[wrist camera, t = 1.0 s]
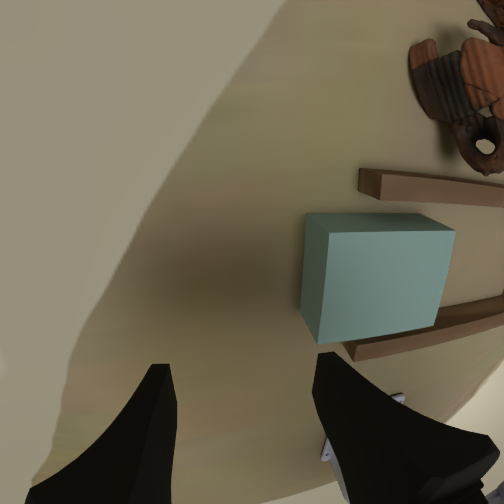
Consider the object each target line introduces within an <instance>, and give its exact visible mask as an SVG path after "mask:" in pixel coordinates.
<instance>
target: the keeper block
mask: <svg viewBox="0 0 504 504" xmlns="http://www.w3.org/2000/svg"><path fill="white" fill-rule="evenodd" d="M455 234H456V230H454V229H452V228H450V227H447V226H445V225H443V224H441V223H439V222H437V221H435V220H433V219H431V218H428V217H426V216H424V215H422V214H413V213H306V226H305V243H304V260H303V274H302V288H301V301H300V311H301V313H302V315H303V317H304V319H305V321H306V323H307V325H308V327H309V329H310V331H311V333H312V335H313V337H314V339H315V341H316V343H317V345H320V344H328V343H336V342H343V341H350V340H357V339H363V338H370V337H376V336H382V335H388V334H393V333H399V332H404V331H409V330H414V329H420V328H424V327H429V326H433V325H434V322H435V319H436V315H437V312H438V308H439V305H440V301H441V297H442V294H443V290H444V286H445V282H446V277H447V273H448V269H449V264H450V260H451V255H452V250H453V245H454V239H455Z"/></svg>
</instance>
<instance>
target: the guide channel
mask: <svg viewBox="0 0 504 504" xmlns="http://www.w3.org/2000/svg"><path fill="white" fill-rule="evenodd" d="M358 191H360V192H362V193H365V194H367V195H369V196H372V197H374V198H376V199H378V200H389V201H413V202H433V203H450V204H465V205H478V206H491V207H502V208H504V185H501V184H495V183H489V182H483V181H476V180H470V179H463V178H455V177H448V176H440V175H431V174H422V173H413V172H402V171H391V170H379V169H365V168H360V169H359V185H358ZM501 325H504V291H503V295H501V296H497V297H492V298H488V299H483V300H479V301H474V302H469V303H464V304H459V305H454V306H449V307H443V308H438V312H437V315H436V319H435V322H434V325H433V326H429V327H424V328H420V329H414V330H409V331H404V332H399V333H393V334H388V335H382V336H376V337H370V338H363V339H357V340H350V341H343V342H342V344H343V346H344V347H345V349H346V351H347V352H348V354H349V356H350V357H351V359H352V361H353V362H356V361H361V360H367V359H372V358H378V357H383V356H388V355H393V354H397V353H402V352H407V351H411V350H416V349H420V348H424V347H428V346H432V345H436V344H440V343H444V342H448V341H451V340H455V339H459V338H462V337H466V336H469V335H473V334H476V333H479V332H483V331H486V330H489V329H492V328H495V327H498V326H501Z"/></svg>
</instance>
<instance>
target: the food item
mask: <svg viewBox="0 0 504 504" xmlns="http://www.w3.org/2000/svg"><path fill="white" fill-rule="evenodd" d="M478 1H479V2H480V3H481V6H483V8H484V10H485V12H486V13H487V14H488V16H489V17H490V18H491V19H492V20H493V22H494V23H495V25H496V26H497V28H499V27H501V26H504V0H478Z"/></svg>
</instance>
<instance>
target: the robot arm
mask: <svg viewBox="0 0 504 504" xmlns="http://www.w3.org/2000/svg"><path fill="white" fill-rule="evenodd" d="M312 395H313V399H314V403H315V406H316V410H317V413H318V416H319V419H320V421H321V423H322V426H323V428H324V430H325V433H326V435H327V439H326V443H325V446H324V449H323V452H322V455H321V460H322V461H328V460H330V462H331V465H332V467H333V470H334V473H335V475H336V478H337V481H338V484H339V486H340V489H341V491H342V494H343V496H344V498H345V500H346V501H347V502H348V503H349V504H504V481H503V482H502V483H501V484H500V485H499V486H498V488H497V489H495V490H494V491H492V492H491V493H489V494H488V495H486V496H484V494H483V493H482V491H481V490H480V489H482V488H483V487H484V484H483V483H482V481H481V480H480V479H481V478H482V477H483V476H484V475H485V474H486V472H488V470H489V469H490V468H491V467H492V466H493V465H494V464H495V462H496V461H497V460H498V458H499V455H500V451H499V449H498V448H497V447H496V445H495V444H494V443H493V441H492V440H491V438H490V437H489V436H488V435H484V434H479V433H474V432H469V431H465V430H461V429H458V428H455V427H452V426H449V425H446V424H443V423H440V422H438V421H435V420H433V419H431V418H428V417H426V416H424V415H422V414H420V413H418V412H416V411H414V410H412V409H410V408H408V407H407V406H405V405H403V402H404V399H405V395H404V394H399V395H396V396H392V397H390V396H389V395H387V394H386V393H384V392H383V391H381V390H380V389H379V388H377V387H376V386H375V385H373V384H372V383H371V382H369V381H368V380H367V379H366V378H364V377H363V376H362V375H361V374H360V373H358V372H357V371H356V370H355V369H354V368H352V367H351V366H350V365H349V364H348V363H347V362H345V361H344V360H343V359H342V358H341V357H340V356H338V355H337V354H336V353H335V352H327V353H319V354H318V358H317V365H316V371H315V377H314V383H313V388H312ZM176 431H177V400H176V395H175V390H174V385H173V380H172V375H171V370H170V365H169V364H152V365H151V366H150V367H149V369H148V371H147V373H146V374H145V376H144V378H143V379H142V381H141V383H140V384H139V386H138V388H137V389H136V391H135V392H134V394H133V395H132V397H131V398H130V400H129V401H128V403H127V404H126V405H125V407H124V408H123V409H122V411H121V412H120V413H119V415H118V416H117V417H116V418H115V420H114V421H113V422H112V424H111V425H110V426H109V427H108V428H107V429H106V430H105V432H104V433H103V434H102V435H101V436H100V437H99V438H98V439H97V440H96V441H95V442H94V443H93V444H92V445H91V446H90V447H89V448H88V449H87V450H86V451H84V452H83V453H82V454H81V455H80V456H79V457H78V458H76V459H75V460H74V461H72V462H71V463H70V464H68V465H67V466H66V467H64V468H63V469H62V470H60V471H59V472H57V473H56V474H54V475H53V476H51V477H50V478H48V479H46V480H44V481H43V482H41V483H39V484H37V485H35V486H34V487H32V488H30V490H29V492H28V494H27V497H26V500H25V504H171V475H172V465H173V456H174V448H175V439H176Z"/></svg>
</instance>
